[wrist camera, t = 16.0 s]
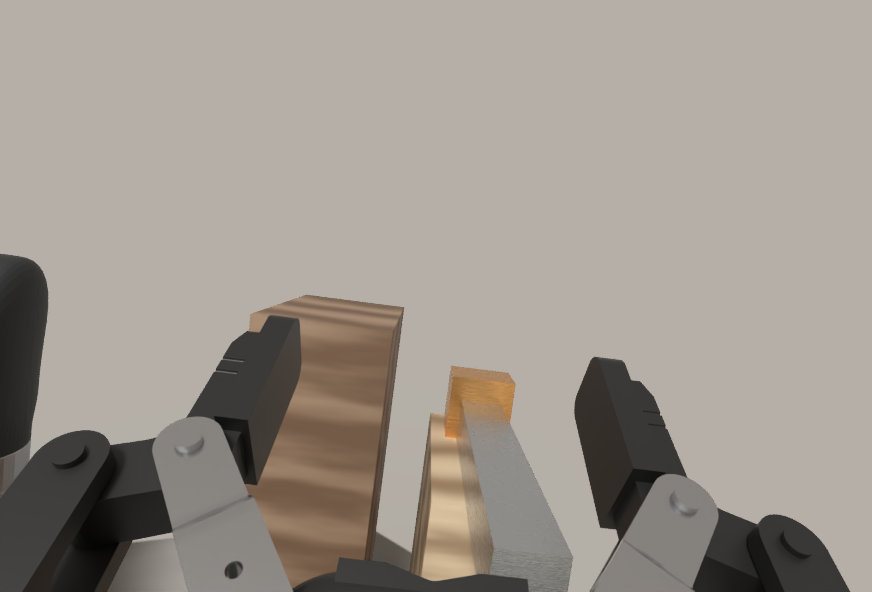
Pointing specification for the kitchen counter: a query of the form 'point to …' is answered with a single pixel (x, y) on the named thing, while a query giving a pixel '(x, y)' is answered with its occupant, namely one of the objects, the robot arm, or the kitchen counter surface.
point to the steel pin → (502, 485)
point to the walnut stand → (330, 435)
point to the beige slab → (441, 512)
